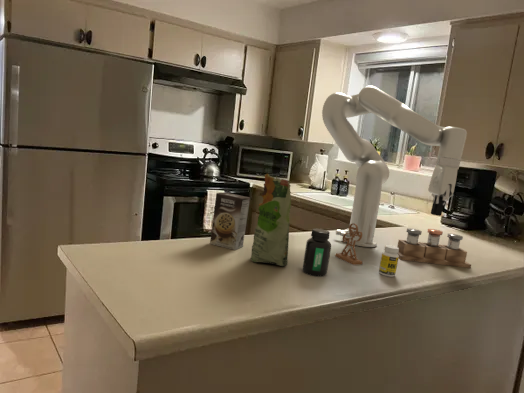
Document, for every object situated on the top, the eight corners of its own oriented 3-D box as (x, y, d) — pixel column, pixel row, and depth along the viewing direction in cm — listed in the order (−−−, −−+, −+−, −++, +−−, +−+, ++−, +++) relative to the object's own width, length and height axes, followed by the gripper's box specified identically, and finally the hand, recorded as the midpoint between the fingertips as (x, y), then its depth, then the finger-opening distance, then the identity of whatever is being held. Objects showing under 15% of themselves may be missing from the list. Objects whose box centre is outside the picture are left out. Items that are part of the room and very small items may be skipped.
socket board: (400, 259, 150) (403, 244, 150) (390, 251, 160) (393, 237, 160) (470, 268, 152) (473, 253, 151) (456, 259, 162) (459, 246, 161)
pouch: (280, 271, 119) (294, 179, 115) (240, 261, 122) (252, 172, 119) (292, 262, 129) (304, 178, 126) (254, 253, 133) (265, 171, 129)
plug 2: (447, 258, 154) (451, 236, 153) (441, 254, 159) (445, 232, 158) (461, 259, 154) (465, 237, 153) (454, 256, 159) (458, 234, 158)
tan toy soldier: (334, 256, 143) (340, 220, 141) (343, 255, 145) (349, 220, 143) (352, 264, 136) (359, 226, 134) (362, 264, 138) (368, 227, 136)
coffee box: (208, 244, 136) (215, 192, 134) (218, 240, 142) (224, 191, 140) (235, 250, 133) (242, 198, 131) (244, 246, 139) (250, 196, 137)
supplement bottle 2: (386, 277, 127) (391, 249, 126) (375, 271, 131) (380, 244, 130) (398, 276, 129) (403, 249, 128) (387, 271, 133) (392, 244, 132)
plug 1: (405, 253, 153) (410, 230, 152) (400, 249, 158) (404, 227, 157) (419, 254, 153) (424, 232, 152) (414, 251, 158) (418, 229, 157)
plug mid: (427, 253, 153) (431, 231, 152) (421, 249, 158) (425, 228, 157) (441, 255, 154) (445, 233, 152) (434, 251, 158) (439, 229, 157)
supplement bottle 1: (320, 278, 117) (327, 234, 115) (297, 271, 121) (304, 229, 119) (330, 273, 123) (337, 232, 121) (308, 267, 126) (315, 226, 125)
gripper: (428, 159, 159) (417, 209, 162) (447, 163, 144) (434, 217, 147) (448, 163, 159) (436, 212, 162) (469, 167, 144) (456, 221, 147)
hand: (435, 214), depth 154 cm, fingers closed
